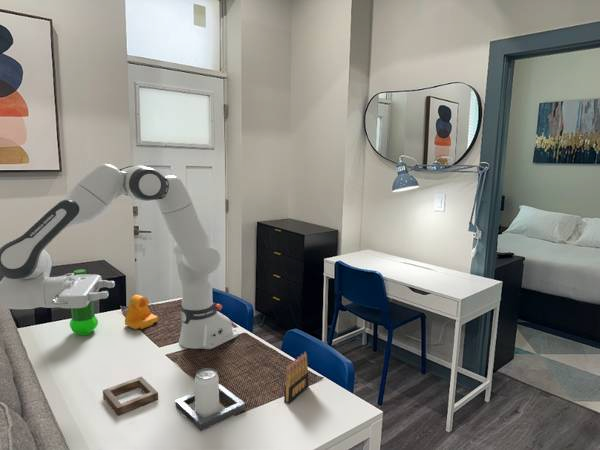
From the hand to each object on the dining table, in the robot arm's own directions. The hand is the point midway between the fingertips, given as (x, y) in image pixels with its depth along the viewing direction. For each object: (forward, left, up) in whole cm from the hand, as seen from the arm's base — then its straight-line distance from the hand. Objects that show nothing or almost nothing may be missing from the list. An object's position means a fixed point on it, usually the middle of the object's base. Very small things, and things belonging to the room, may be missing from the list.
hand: (111, 289), depth 128 cm
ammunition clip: (-37, +43, -30) cm, 64 cm away
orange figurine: (-23, -36, -30) cm, 53 cm away
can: (-13, +33, -30) cm, 46 cm away
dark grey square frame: (-14, +32, -30) cm, 46 cm away
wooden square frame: (+1, +13, -30) cm, 33 cm away
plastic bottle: (-3, -43, -30) cm, 53 cm away
